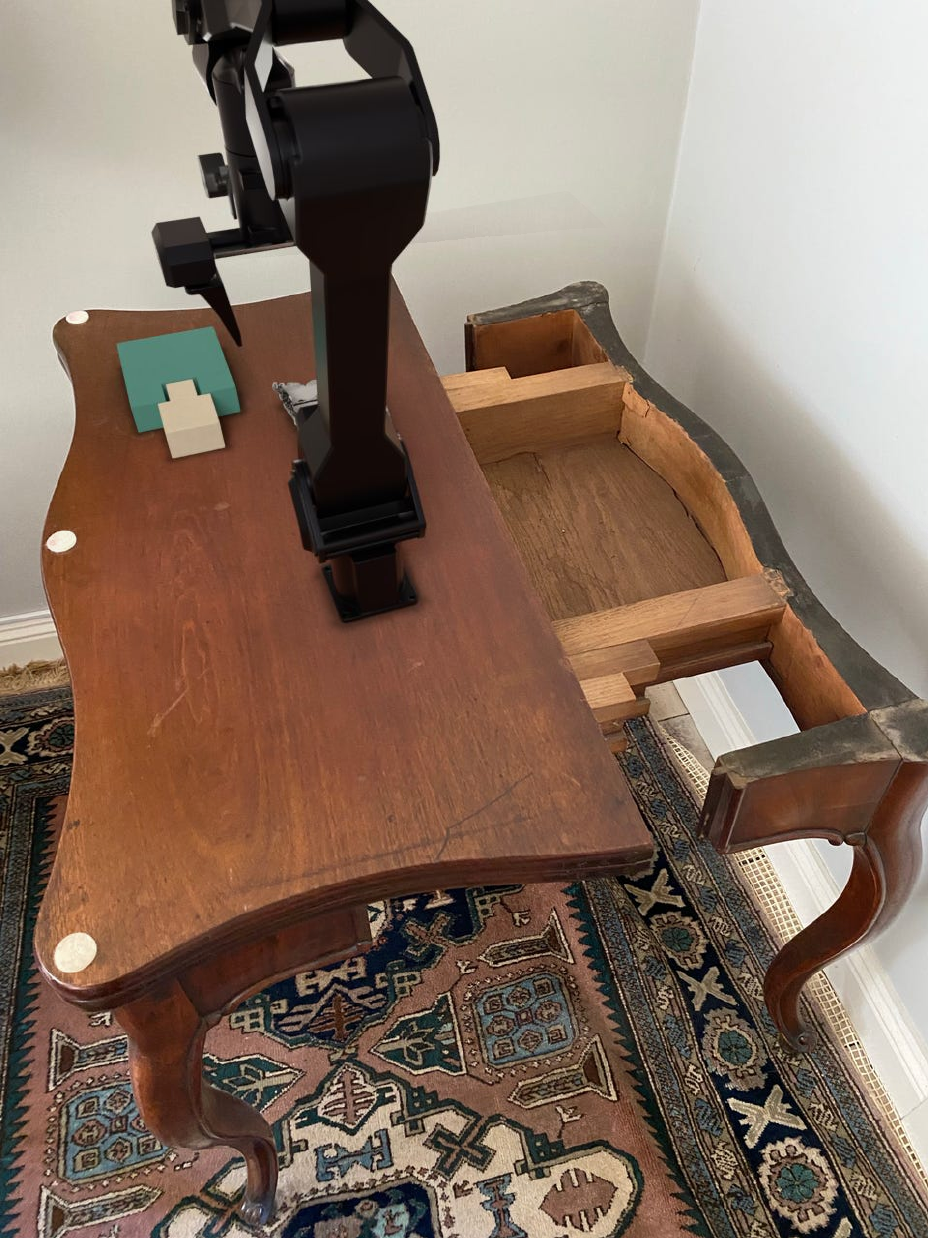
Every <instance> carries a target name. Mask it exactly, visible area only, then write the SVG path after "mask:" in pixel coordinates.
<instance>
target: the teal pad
mask: <svg viewBox="0 0 928 1238" xmlns="http://www.w3.org/2000/svg"><path fill="white" fill-rule="evenodd" d="M116 348H117V353H118V354H117V355H118V357H119V363H120V366H121V370H122V371H121V372H122V375H123V380H124V384H125V388H126V392H127V398H128V402H129V405H130V409H131V413H132V415H133V419H134V422H135V425H136V428H137V432H138V434H139V433H140V434H141V433H144V432H145V433H146V432H149V431H154V430H159V429H164V426H163V422H162V418H161V415H160V411H159V407H158V404H159V403H164V402H169V401H170V398H169V394H168V391H167V387H166V384H170V383H175V382H181V381H186V380H191V379H192V380H193V383H194V386H195V389H196V392H197V395H198V396H199V395H204V394H210V395H211V398H212V401H213V404H214V407H215V410H216V413H217V416H218V418H219V417H224V416H227V415H233V414H237V413H241V406H240V402H239V396H238V392H237V387H236V385H235V381H234V379H233V376H232V373H231V370H230V368H229V365H228V362H227V359H226V357H225V355H224V352H223V349H222V346H221V344H220V341H219V339H218V336H217V333H216V330H215V327H214V326H213V325H211V326H206V327H201V328H195V329H188V330H184V331H179V332H172V333H167V334H161V335H156V336H151V337H145V338H139V339H132V340H128V341H123V342H117V343H116Z"/></svg>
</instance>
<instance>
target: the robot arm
mask: <svg viewBox="0 0 928 1238" xmlns="http://www.w3.org/2000/svg"><path fill="white" fill-rule="evenodd" d="M170 2H171V11H172V12H171V13H172V14H171V15H172V20H173V24H174V28H175V32H176V36H183V39H184V41H185V42H186V44H187V46H192V50H191V56H192V57H191V58H192V62H193V65H194V68H195V71H196V72H197V74H198V76H199V78H200V80H201V82H202V83H203V85H204V87H205V89H206V91H207V93H208V95H209V97H210V98H211V100H212V101H213V103H214V106H216V107H217V112H218V119H219V125H220V129H221V134H222V141H223V146H224V151H225V157H226V162H227V163H225V158H224V155H223V153H222V152H211V153H204V154H198V155H196V156H197V162H198V167H199V172H200V177H201V182H202V186H203V191H204V194H205V197H206V198H208V199H218V198H224V197H227V198H228V203H229V209H230V214H231V216H232V218H233V220H237V224H238V227H236V228H229V229H222V230H216V231H209V232H207V230H206V229H205V226H204V223H203V221H202V219H201V216H194V217H188V218H187V217H185V218H180V219H173V220H167V221H161V222H160V221H159V222H156V223H155V224H154V226H153V228H152V230H151V232H150V234H151V238H152V242H153V246H154V249H155V255H156V257H157V261H158V264H159V267H160V270H161V273H162V276H163V280H164V283H165V286H166V287H169V288H172V289H179V288H184V291H185V294H187V295H188V296H197V295H199V296H201V297H202V298H203V300H204V301H205V302H206V303H207V304H208V305H209V307H210V308H211V309H212V310H213V311H214V312H215V314H216V315H217V316H218V317H219V319H220V320H221V323H222V324H223V325H224V327H225V329H226V331H227V332H228V334H229V335H230V337H231V339H232V340H233V342H234V343H235V345H236V346H237V348H241V347H243V341H242V335H241V331H240V328H239V325H238V322H237V319H236V317H235V313H234V310H233V308H232V305H231V301H230V299H229V296H228V293H227V289H226V287H225V285H224V282H223V280H222V279H223V278H222V276H221V274H220V272H219V269H218V267H217V263H216V260H219V259H225V258H232V257H238V256H244V255H250V254H256V253H262V252H268V251H274V250H281V249H287V248H293V247H296V248H297V249H298V250H299V252H301V253H302V254H303V255H304V256H305V258H307V259H308V266H309V281H310V283H309V284H310V298H311V313H312V314H311V316H312V331H313V349H314V365H315V380H316V384H317V400H318V404H313V405H308V406H303V407H300V408H299V410H298V412H297V414H296V425H297V426H296V425H295V426H296V442H297V443H296V447H297V448H296V449H297V451H296V452H297V459H295V460H291V470H290V471H289V472H290V478H289V480H288V481H287V487H288V492H289V494H290V499H291V503H292V508H293V511H294V514H295V519H296V523H297V528H298V531H299V537H300V542H301V546H302V549H303V550H304V551H307V552H309V553H311V554H313V555H314V558H316V559H317V562H318V564H323V563H326V562H327V561H330V563H329V564H325V565H323V566H322V567H321V574H322V576H323V579H324V581H325V584H326V587H327V589H328V591H329V595H330V597H331V600H332V602H333V605H334V607H335V611H336V612H337V615H338V617H339V620H340V622H341V623H343V624H348V623H353V622H357V621H360V620H364V619H367V618H371V617H375V616H378V615H383V614H385V613H390V612H393V611H397V610H400V609H405V608H408V607H413V606H415V605H417V604H418V602H419V595H418V594H417V591H416V589H415V586H414V585H413V583H412V580H411V578H410V576H409V574H408V572H407V570H406V568H405V565H404V559H403V543H402V542H406V541H410V540H414V539H418V540H419V539H424V538H425V537H426V532H427V521H426V516H425V513H424V509H423V505H422V501H421V497H420V493H419V490H418V486H417V482H416V478H415V474H414V470H413V466H412V463H411V458H410V456H409V452H408V448H407V446H406V443H405V442H404V440H403V439H402V437H401V436H400V437H398V436H397V433H398V432H397V433H396V431H395V430H396V429H395V426H394V424H393V423H394V422H393V421H392V417H391V418H390V416H391V415H390V416H389V414H388V412H387V411H386V405H387V396H388V395H387V394H388V373H389V372H388V371H389V347H390V322H391V298H392V297H391V295H392V274H393V264H394V263H395V262H396V260H397V259H398V258H399V257H400V255H401V254H402V253H403V252H404V251H405V250H406V248H407V247H408V246H409V244H410V243H411V242H412V241H413V240H414V238H415V237H416V236H417V234H418V233H419V232H420V231H421V230H422V229H423V227H424V226H425V222H426V217H427V211H428V205H429V201H430V200H429V199H430V193H431V189H432V183H433V177H436V176H437V173H438V172H439V168H440V162H441V143H440V136H439V128H438V124H437V119H436V115H435V112H434V108H433V105H432V102H431V99H430V95H429V93H428V90H427V89H428V88H427V86H426V83H425V80H424V77H423V74H422V71H421V68H420V64H419V62H418V58H417V55H416V52H415V48H414V47H413V45H412V43H411V42H410V40H409V39H408V38H407V37H406V36H405V35H404V34H403V33H402V32H401V31H400V30H399V29H398V28H397V27H396V26H394V24H393V23H392V22H391V21H390V20H389V19H388V18H387V17H386V16H385V15H384V14H383V13H382V12H381V11H380V10H379V9H378V8H377V7H376V6H375V5H374V4H373V3H371V1H370V0H171V1H170ZM337 41H342V43H343V47H344V50H345V51H346V53H347V54H348V56H349V57H350V58H351V59H352V60H353V61H354V62H355V63H356V64H357V65H358V66H359V67H360V68H361V69H362V70H364V72H365V73H367V74H368V75H369V77H371V78H362V79H354V80H353V79H352V80H346V81H345V80H344V81H338V82H330V83H329V82H328V83H319V84H314V85H313V84H312V85H303V86H297V80H296V79H297V77H296V71H295V68H294V67H293V65H292V64H291V62H290V61H289V60H288V59H287V58H286V57H285V56H284V55H283V54H282V53H280V52H279V51H278V50H276V49H275V48H279V47H280V48H281V47H290V46H298V45H299V46H300V45H308V44H317V43H325V42H326V43H327V42H337Z"/></svg>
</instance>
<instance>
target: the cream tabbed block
mask: <svg viewBox="0 0 928 1238" xmlns="http://www.w3.org/2000/svg"><path fill="white" fill-rule="evenodd" d="M166 387H167V391H168V394H169V398H170V401H169V402H164V403H159V404H158V407H159V411H160V415H161V418H162V422H163V426H164V428H163V430H164V433H165V437H166V440H167V444H168V447H169V451H170V454H171V458H172V459H178V458H182V457H188V456H192V455H196V454H197V455H198V454H201V453H205V452H210V451H215V450H219V449H224V448H226V443H225V439H224V435H223V431H222V427H221V423H220V419H219V417H218V416H217V413H216V410H215V407H214V404H213V401H212V398H211V395H210V394H204V395H199V396H198V395H197V392H196V389H195V386H194V383H193V380H192V379H191V380H186V381H181V382H175V383H170V384H166Z"/></svg>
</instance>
